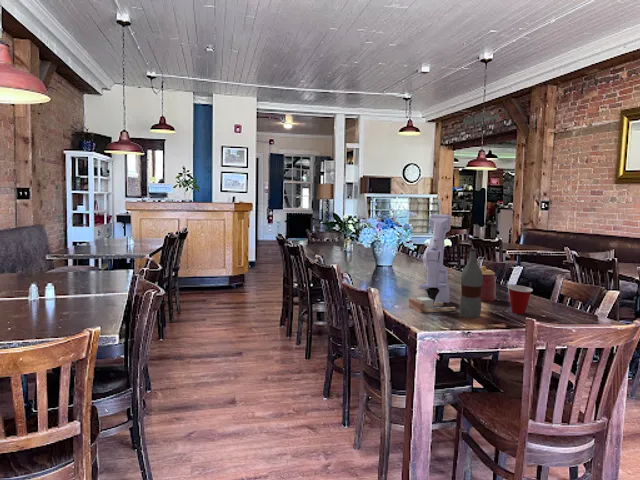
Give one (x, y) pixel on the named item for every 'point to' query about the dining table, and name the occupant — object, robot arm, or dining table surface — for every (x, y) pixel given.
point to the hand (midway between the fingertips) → (431, 303)
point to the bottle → (471, 288)
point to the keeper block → (426, 301)
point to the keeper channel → (420, 308)
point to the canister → (488, 285)
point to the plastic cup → (519, 298)
